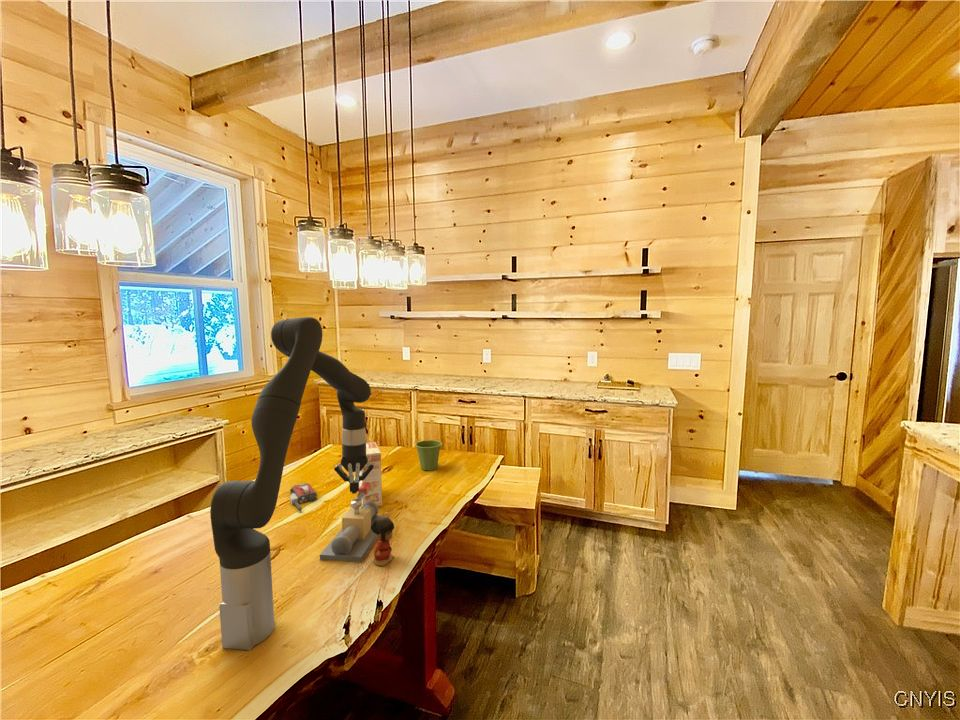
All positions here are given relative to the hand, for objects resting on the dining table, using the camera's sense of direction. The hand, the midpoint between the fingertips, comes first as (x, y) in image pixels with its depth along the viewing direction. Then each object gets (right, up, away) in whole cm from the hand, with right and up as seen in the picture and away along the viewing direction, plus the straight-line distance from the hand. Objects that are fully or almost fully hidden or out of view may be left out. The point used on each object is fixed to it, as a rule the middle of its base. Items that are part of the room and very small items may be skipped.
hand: (354, 492), depth 136 cm
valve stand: (+4, -11, -10) cm, 15 cm away
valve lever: (+4, 0, -5) cm, 6 cm away
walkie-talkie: (-24, -9, +17) cm, 31 cm away
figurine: (+15, -12, -22) cm, 29 cm away
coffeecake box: (0, -8, +17) cm, 19 cm away
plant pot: (+19, -5, +49) cm, 52 cm away
